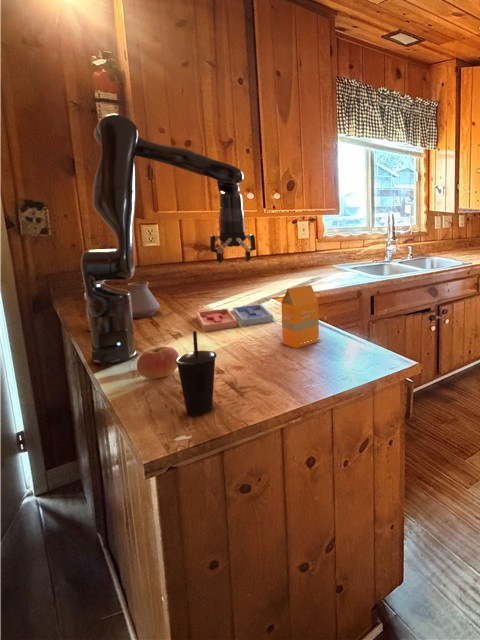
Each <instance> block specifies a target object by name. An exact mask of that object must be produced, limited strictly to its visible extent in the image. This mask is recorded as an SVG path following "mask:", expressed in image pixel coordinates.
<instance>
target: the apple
mask: <svg viewBox="0 0 480 640" xmlns="http://www.w3.org/2000/svg"><path fill="white" fill-rule="evenodd" d="M179 357H180V354H179V352H178V351H177V350H176V349H175V348H174V347H171V346H167V345H166V346H158V347H154V348H151V349H148V350H146V351H144V352H143V353H141V355H140V356H139V357H138V359H137V362H136V370H137V372H138V373H139V375H140V376H141V377H143V378H145V379H149V380H151V379H152V380H153V379H155V380H156V379H161V378H165V377H168V376H170V375H172V374H174V372H175V371H176V370H178V365H177V364H176V363H175V361H176V359H177V358H179Z"/></svg>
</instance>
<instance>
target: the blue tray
mask: <svg viewBox="0 0 480 640" xmlns="http://www.w3.org/2000/svg"><path fill="white" fill-rule="evenodd" d="M246 308H252V309H253V310H254V311H255V312H256V314H261V315H262V316H261V317H255V318H248V319H247V317H248V316H249V315H248V314H247V313H246ZM232 315H233V316H234V317H235V319H236V320H237V321H238V322H239V323H240V324H241V326H243V327H246V326H251V325H256V324H258V325H259V324H263V323H271V322H273V321H274V318H273V314H272V313H271V312H270V311H269V310H268V309H266V307H265V306H264V305H263V304H261V303H260V304H259V303H258V304H251V305H245V306H243V305H242V306H236V307H232Z"/></svg>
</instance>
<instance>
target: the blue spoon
mask: <svg viewBox="0 0 480 640" xmlns="http://www.w3.org/2000/svg"><path fill="white" fill-rule="evenodd" d="M246 313H247V314H248V315H249V316H248V317H247V319H248V318H255V317H261V316H262V315H261V314H256V312H255V311H254V310H253V309H252V308H246Z"/></svg>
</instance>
